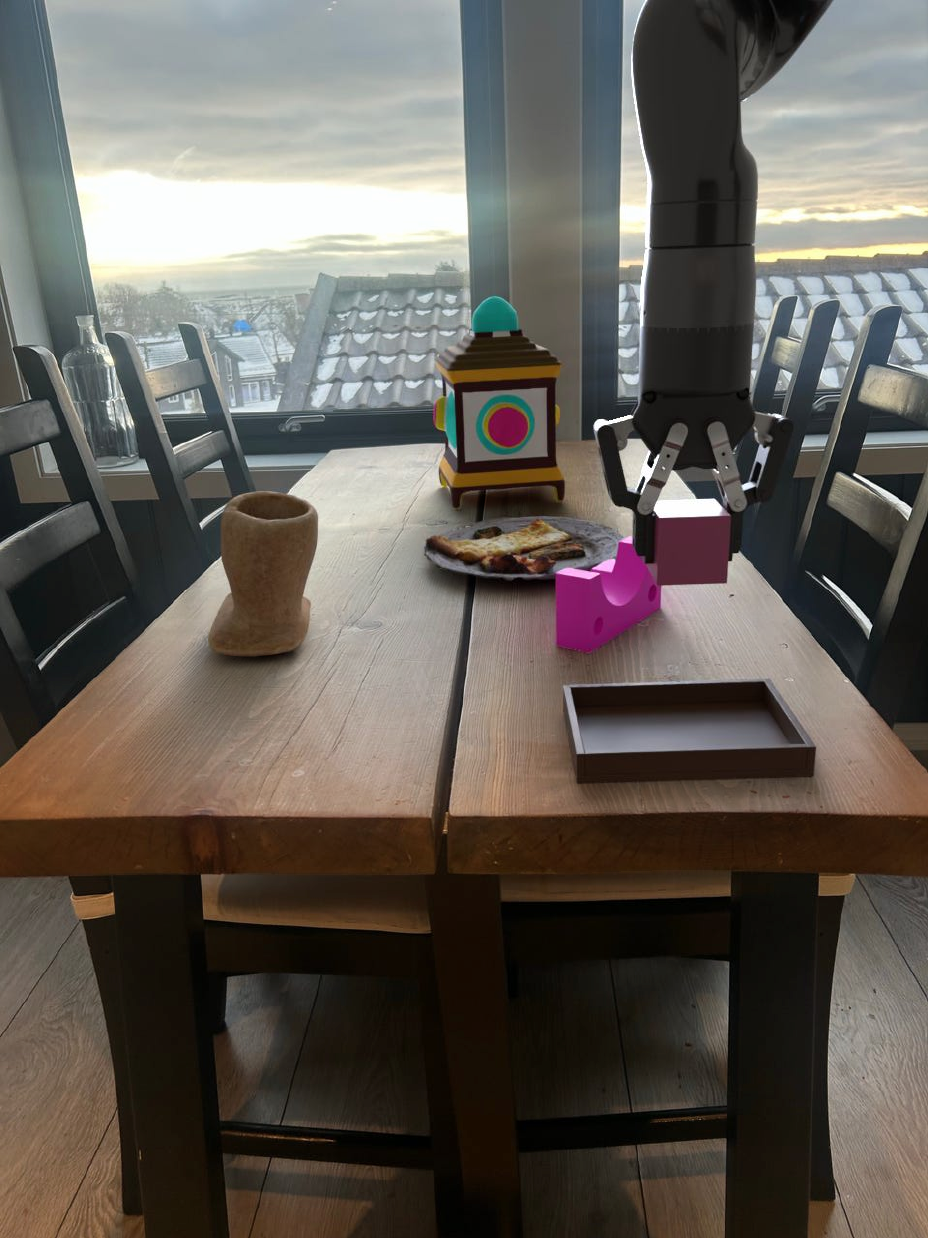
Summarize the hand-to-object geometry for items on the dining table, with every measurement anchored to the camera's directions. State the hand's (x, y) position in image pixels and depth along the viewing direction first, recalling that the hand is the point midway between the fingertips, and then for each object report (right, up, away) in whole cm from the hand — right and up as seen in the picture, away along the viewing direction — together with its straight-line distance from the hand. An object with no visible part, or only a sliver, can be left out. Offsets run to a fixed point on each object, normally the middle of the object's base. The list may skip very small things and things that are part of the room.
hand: (686, 558), depth 73 cm
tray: (+1, -14, +5) cm, 15 cm away
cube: (0, -1, 0) cm, 1 cm away
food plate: (-9, +3, +52) cm, 53 cm away
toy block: (-2, -5, +30) cm, 31 cm away
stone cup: (-36, -6, +30) cm, 47 cm away
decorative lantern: (-11, +15, +86) cm, 88 cm away
